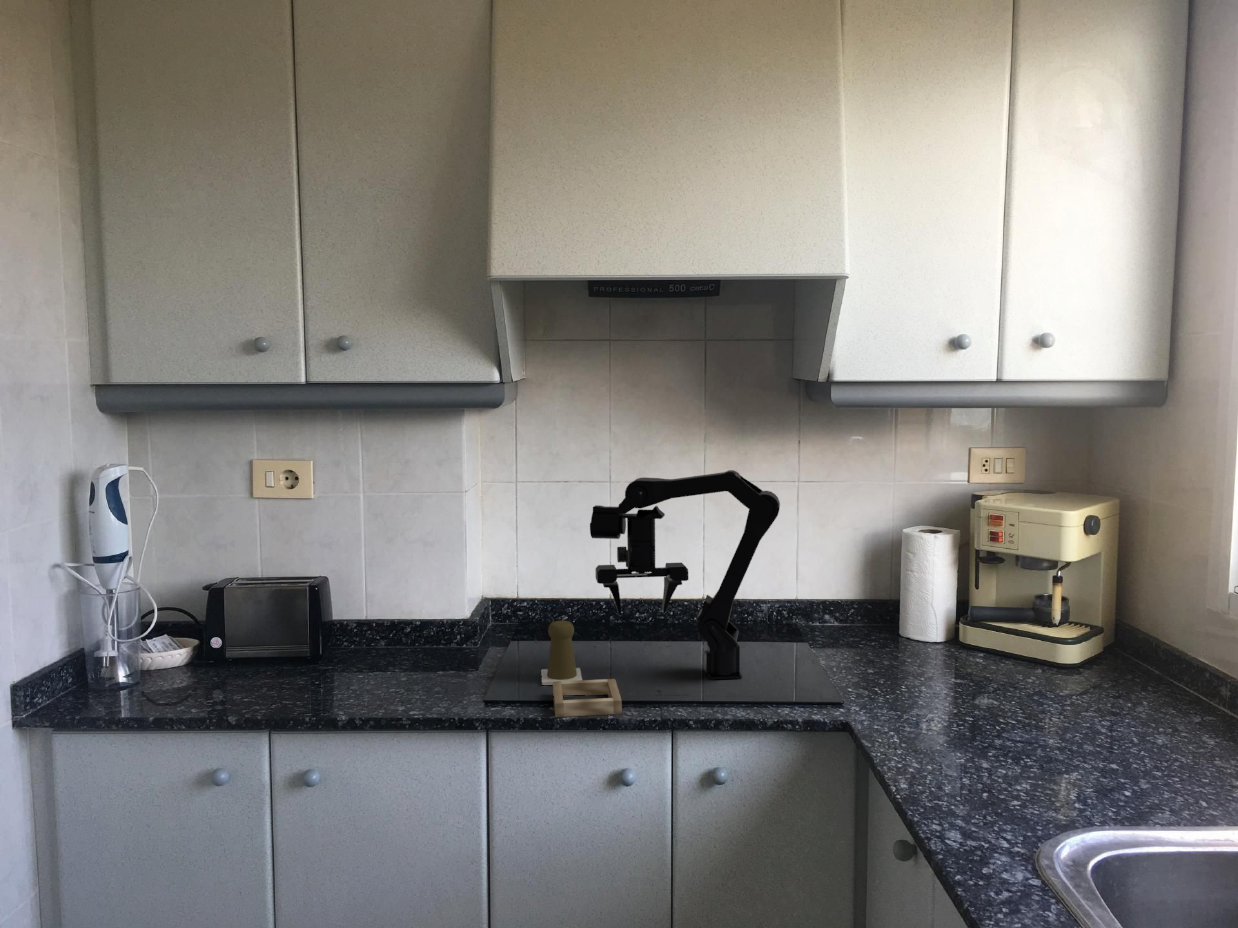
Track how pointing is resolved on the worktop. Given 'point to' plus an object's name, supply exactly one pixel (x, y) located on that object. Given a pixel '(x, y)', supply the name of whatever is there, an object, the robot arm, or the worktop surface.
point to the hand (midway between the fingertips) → (641, 613)
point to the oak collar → (587, 705)
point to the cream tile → (549, 681)
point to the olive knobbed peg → (561, 651)
